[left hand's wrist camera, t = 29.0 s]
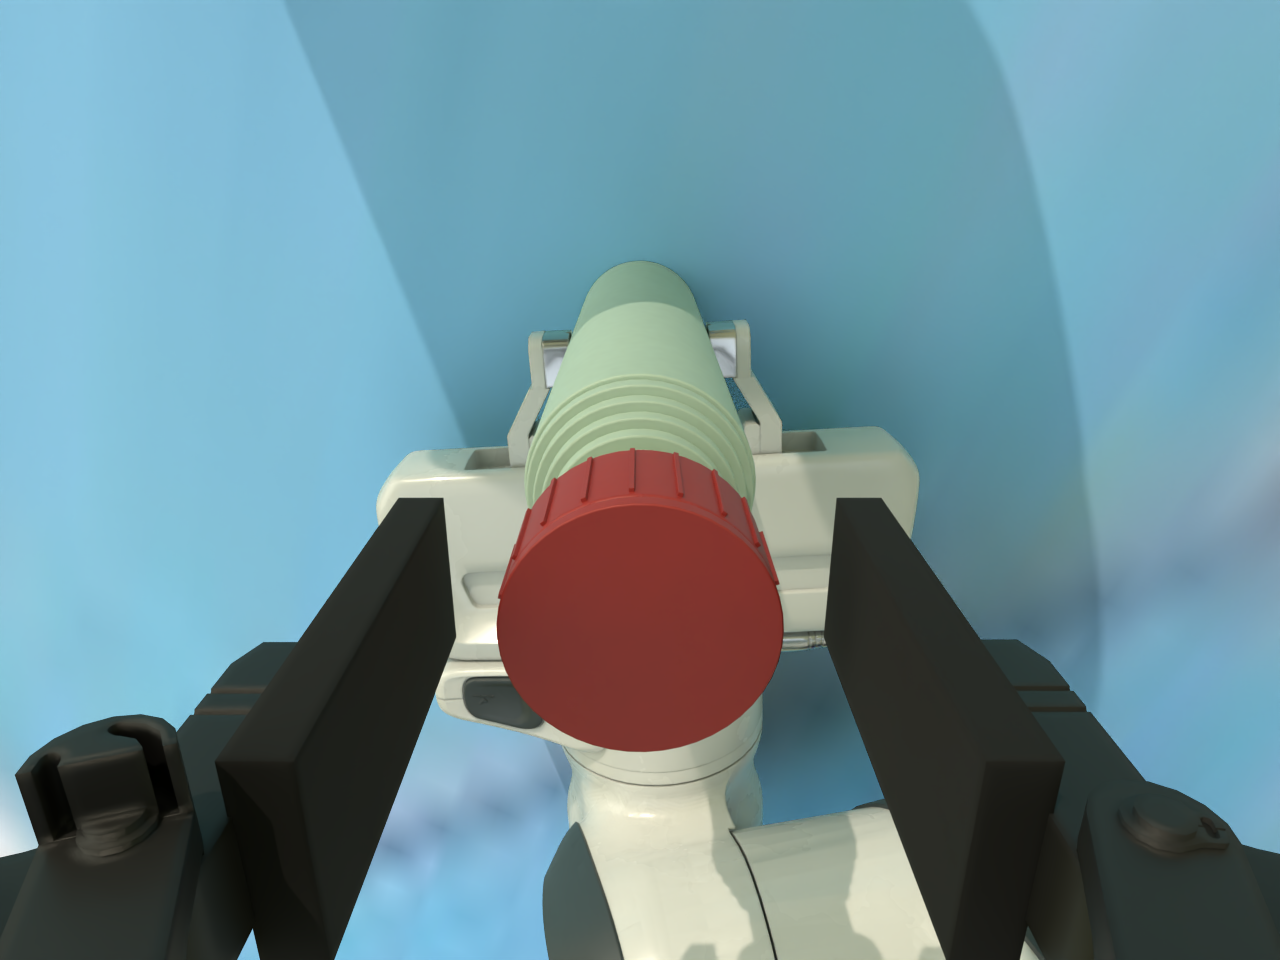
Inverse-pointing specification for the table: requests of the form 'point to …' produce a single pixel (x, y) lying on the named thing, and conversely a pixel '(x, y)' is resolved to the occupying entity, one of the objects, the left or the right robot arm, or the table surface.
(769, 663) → the cap
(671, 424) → the bottle
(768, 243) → the table surface
